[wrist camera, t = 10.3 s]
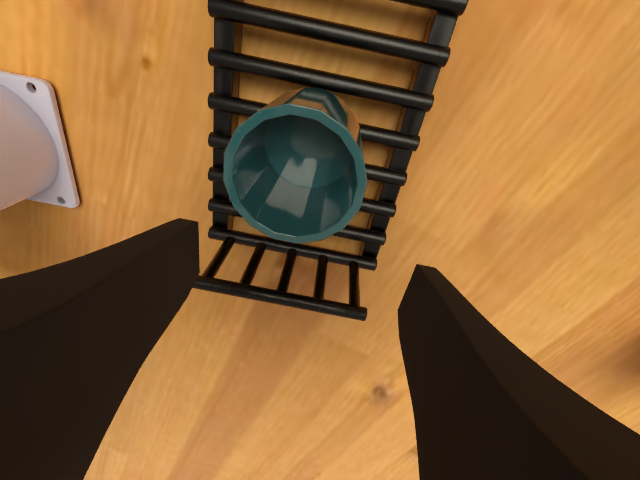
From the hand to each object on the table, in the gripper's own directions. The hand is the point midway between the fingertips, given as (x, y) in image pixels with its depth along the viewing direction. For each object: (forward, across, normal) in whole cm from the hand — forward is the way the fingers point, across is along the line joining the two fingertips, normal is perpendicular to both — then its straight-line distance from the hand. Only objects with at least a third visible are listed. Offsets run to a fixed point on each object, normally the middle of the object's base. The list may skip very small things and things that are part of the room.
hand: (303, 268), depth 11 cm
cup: (+8, +1, -2) cm, 9 cm away
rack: (+10, +1, -2) cm, 11 cm away
